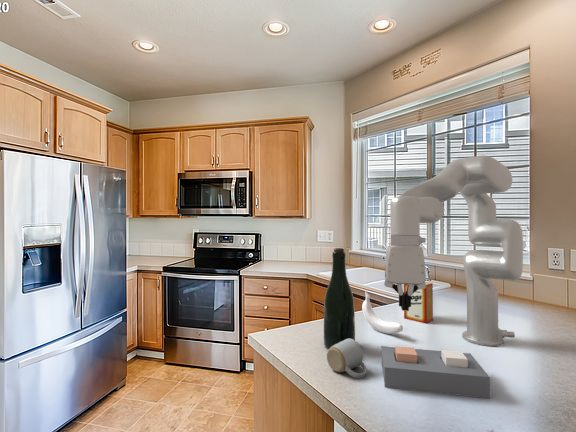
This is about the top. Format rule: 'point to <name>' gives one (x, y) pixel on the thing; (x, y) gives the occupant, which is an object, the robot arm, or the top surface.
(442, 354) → the white key
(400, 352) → the light orange cube
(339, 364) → the ceramic mug
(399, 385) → the key panel
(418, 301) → the baking soda box
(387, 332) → the banana
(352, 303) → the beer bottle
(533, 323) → the top surface
